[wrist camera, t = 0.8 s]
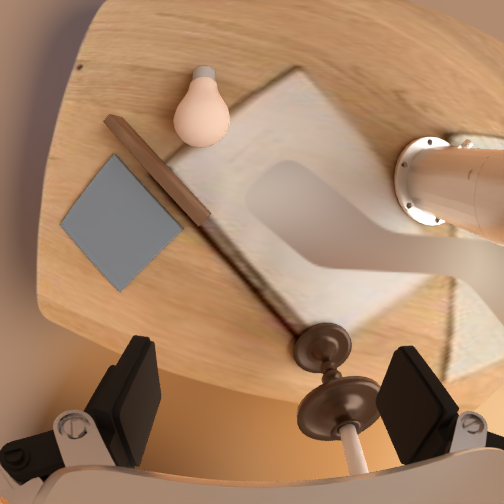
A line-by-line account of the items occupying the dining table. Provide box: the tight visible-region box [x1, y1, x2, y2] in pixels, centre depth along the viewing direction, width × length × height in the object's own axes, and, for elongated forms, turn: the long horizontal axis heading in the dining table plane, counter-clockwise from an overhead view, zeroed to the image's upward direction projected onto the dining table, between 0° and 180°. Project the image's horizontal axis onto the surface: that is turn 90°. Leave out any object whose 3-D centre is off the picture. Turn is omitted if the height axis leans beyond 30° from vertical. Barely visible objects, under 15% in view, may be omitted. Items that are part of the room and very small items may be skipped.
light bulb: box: [173, 66, 230, 148], centre depth 32 cm, size 7×7×11 cm
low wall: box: [103, 114, 211, 226], centre depth 34 cm, size 1×18×4 cm, turn 41°
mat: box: [60, 154, 183, 292], centre depth 38 cm, size 14×14×1 cm
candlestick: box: [293, 323, 381, 476], centre depth 27 cm, size 11×11×35 cm
